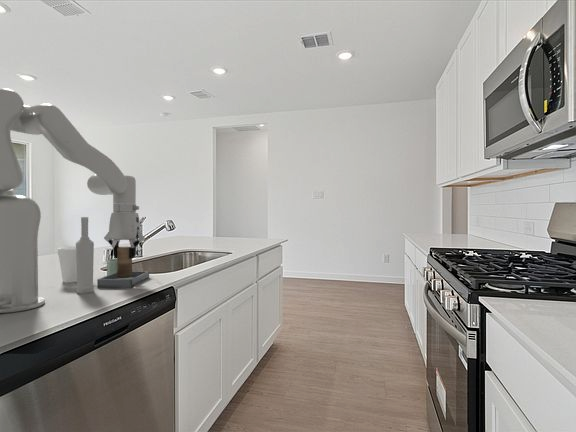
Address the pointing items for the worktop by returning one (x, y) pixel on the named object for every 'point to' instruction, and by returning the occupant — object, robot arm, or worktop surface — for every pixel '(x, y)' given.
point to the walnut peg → (123, 263)
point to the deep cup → (111, 266)
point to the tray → (122, 280)
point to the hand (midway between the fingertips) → (124, 257)
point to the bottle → (84, 260)
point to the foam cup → (68, 263)
